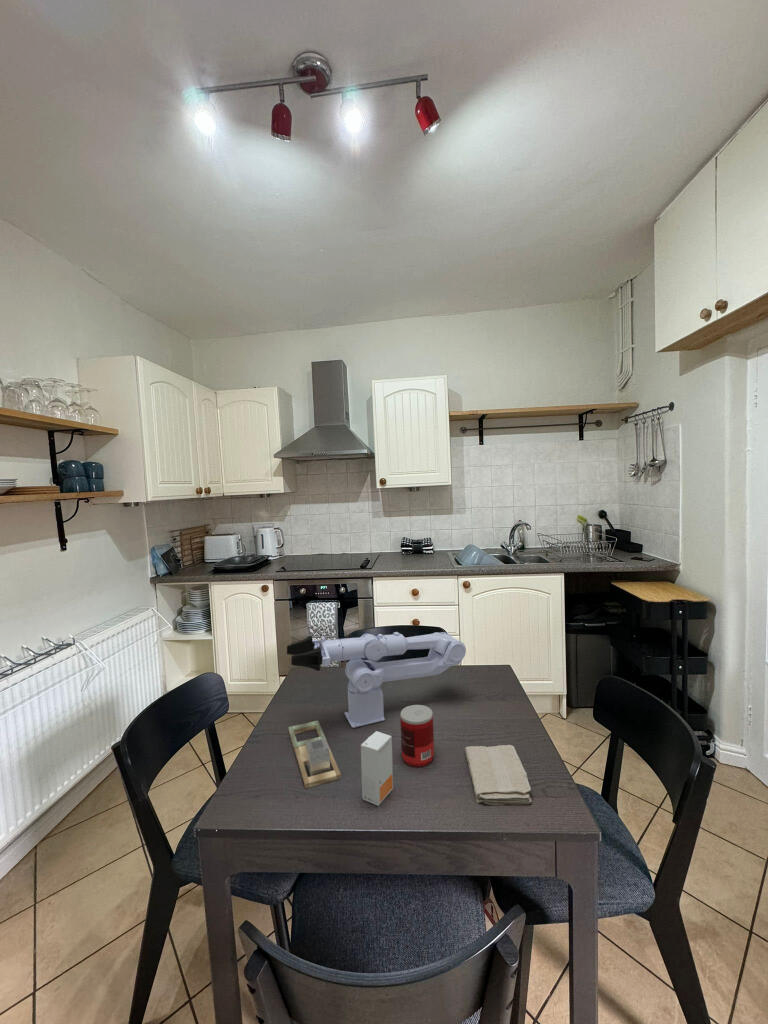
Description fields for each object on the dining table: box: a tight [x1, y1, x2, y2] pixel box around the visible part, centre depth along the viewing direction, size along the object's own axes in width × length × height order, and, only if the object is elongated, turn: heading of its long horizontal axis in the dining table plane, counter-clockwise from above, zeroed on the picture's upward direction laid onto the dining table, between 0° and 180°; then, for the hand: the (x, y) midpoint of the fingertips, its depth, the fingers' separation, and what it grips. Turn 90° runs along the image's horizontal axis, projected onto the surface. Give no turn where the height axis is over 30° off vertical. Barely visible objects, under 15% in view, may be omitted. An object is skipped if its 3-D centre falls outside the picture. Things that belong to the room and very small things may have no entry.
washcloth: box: [463, 744, 533, 806], centre depth 97 cm, size 12×18×3 cm, turn 179°
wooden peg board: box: [288, 720, 342, 789], centre depth 107 cm, size 8×24×1 cm, turn 21°
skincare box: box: [360, 730, 394, 807], centre depth 92 cm, size 6×4×12 cm
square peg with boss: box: [306, 737, 331, 777], centre depth 101 cm, size 4×4×6 cm
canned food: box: [399, 704, 435, 768], centre depth 104 cm, size 8×8×11 cm
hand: (289, 655), depth 114 cm, fingers open, 7 cm apart
